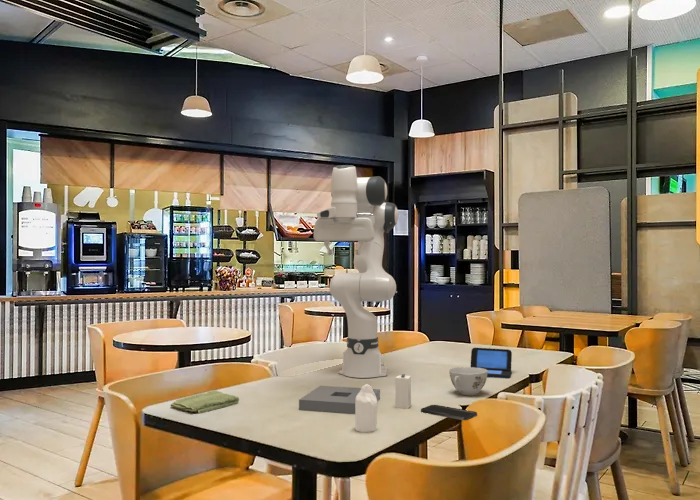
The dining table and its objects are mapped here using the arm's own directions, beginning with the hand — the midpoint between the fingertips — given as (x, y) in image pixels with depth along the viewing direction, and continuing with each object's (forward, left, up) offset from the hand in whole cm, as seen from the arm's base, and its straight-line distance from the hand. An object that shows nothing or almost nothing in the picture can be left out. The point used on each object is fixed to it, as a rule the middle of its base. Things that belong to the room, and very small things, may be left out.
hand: (344, 254), depth 200 cm
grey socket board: (+14, +3, -46) cm, 48 cm away
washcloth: (+27, -36, -47) cm, 65 cm away
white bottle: (+38, +17, -46) cm, 62 cm away
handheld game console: (-47, +45, -46) cm, 80 cm away
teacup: (-10, +39, -46) cm, 61 cm away
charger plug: (+12, +22, -46) cm, 52 cm away
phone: (+16, +36, -46) cm, 61 cm away
